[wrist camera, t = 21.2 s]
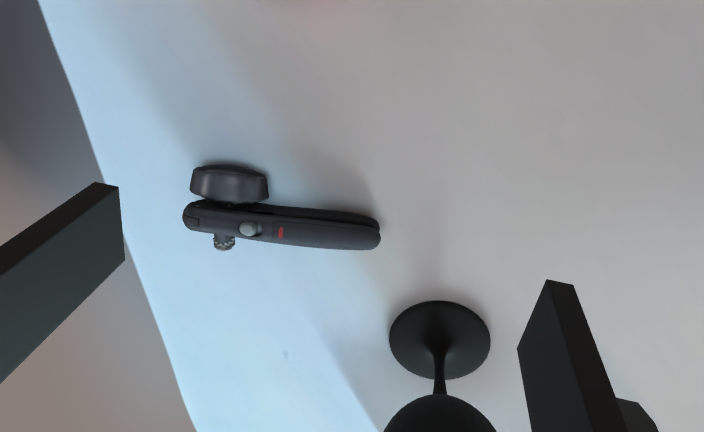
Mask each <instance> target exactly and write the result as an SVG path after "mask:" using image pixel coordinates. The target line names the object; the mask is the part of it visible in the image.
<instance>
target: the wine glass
mask: <svg viewBox="0 0 704 432" xmlns="http://www.w3.org/2000/svg"><path fill="white" fill-rule="evenodd" d="M389 343H390V348H391V351H392V353H393V355H394V357H395V358H396V359H397V361H398V362H399V363H400V364H401V365H402V366H403V367H404V368H406V369H407V370H408V371H410V372H412V373H414V374H416V375H419V376H421V377H425V378H429V379H434V390H433V395H427V396H424V397H421V398H418V399H416V400H414V401H412V402H410V403H408V404H407V405H406V406H404V407H403V408H402V409H400V410H399V411H398V412H397V414H396V415H395V416H394V417H393V418H392V419H391V420H390V422H389V423H388V425H387V427H386V428H385V430H384V432H496V430H495V429H494V427H493V426H492V424H491V423H490V422H489V420H488V419H487V418H486V417H485V416H484V415H483V414H482V413H481V412H480V411H478V410H477V409H476V408H474V407H473V406H472V405H470V404H468V403H467V402H465V401H463V400H461V399H458V398H456V397H453V396H449V395H447V391H446V384H445V380H449V379H455V378H459V377H462V376H465V375H467V374H469V373H471V372H473V371H474V370H476V369H477V368H478V367H479V366H480V365H481V364H482V363H483V362H484V361H485V359H486V358H487V356H488V353H489V350H490V335H489V331H488V329H487V326H486V325H485V323H484V322H483V320H482V319H481V318H480V317H479V316H478V315H477V314H475V313H474V312H473V311H471V310H470V309H468V308H466V307H464V306H461V305H459V304H456V303H452V302H446V301H430V302H424V303H420V304H417V305H414V306H412V307H410V308H408V309H407V310H405V311H404V312H402V313H401V314H400V315H399V316H398V317H397V318H396V320H395V321H394V323H393V325H392V327H391V330H390V336H389Z"/></svg>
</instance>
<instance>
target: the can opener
mask: <svg viewBox="0 0 704 432" xmlns="http://www.w3.org/2000/svg"><path fill="white" fill-rule="evenodd" d="M190 191H191V192H192V193H194V194H196V195H199V196H201V197H204V198H206V199H203V200H197V201H195V202H191V203H190V204H188V205H187V206H186V208H185V209H184V212H183V216H182V218H183V222H184V224H185V226H186V227H187V228H188V229H190V230H193V231H199V232H206V233H213V234H214V238H213V240H214V247H215V248H216V249H217V250H220V251H226V250H230V249H231V248H232V247H233V246H234V245H235V237H239V238H244V239H250V240H257V241H264V242H270V243H278V244H286V245H294V246H304V247H313V248H325V249H342V250H371V249H374V248H375V247H377V246H378V244H379V243H380V240H381V237H380V233H379V230H380V229H379V224H378V222H377V221H376V220H375V219H373V218H371V217H367V216H363V215H358V214H352V213H346V212H339V211H332V210H323V209H311V208H299V207H286V206H276V205H268V204H263V203H259V202H256V201H261V200H265V199H268V198H269V194H268V185H267V179H266V176H265V175H264V174H262V173H259V172H257V171H254V170H251V169H247V168H243V167H239V166H232V165H208V166H201V167H197V168H195V169H194V170H193V174H192V178H191V183H190Z"/></svg>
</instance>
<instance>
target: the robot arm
mask: <svg viewBox="0 0 704 432" xmlns="http://www.w3.org/2000/svg"><path fill="white" fill-rule="evenodd" d="M124 261H125V253H124V243H123V232H122V221H121V210H120V199H119V188H118V187H117V186H112V185H107V184H103V183H98V182H94V183H92V184H91V185H90V186H88V187H87V188H85V189H84V190H82V191H81V192H79V193H78V194H76V195H75V196H73V197H72V198H70V199H69V200H67V201H66V202H65V203H63V204H62V205H60V206H59V207H57V208H56V209H54V210H53V211H51V212H50V213H49V214H47V215H46V216H44V217H43V218H41V219H40V220H38V221H37V222H35V223H34V224H32V225H31V226H29V227H28V228H26V229H25V230H24V231H22V232H21V233H19V234H18V235H16V236H15V237H13V238H12V239H10V240H9V241H8V242H6V243H5V244H3V245H2V246H0V384H1V383H2V382H3V381H4V380H5V379H6V377H7V376H9V375H10V374H11V373H12V372H13V371H14V370H15V369H16V368H17V367H18V366H19V365H20V364H21V363H22V362H23V361H24V360H25V359H26V358H27V357H28V356H29V355H30V354H31V353H32V352H33V351H34V350H35V349H36V348H37V347H38V346H39V345H40V344H41V343H42V342H43V341H44V340H45V339H46V338H47V337H48V336H49V335H50V334H51V333H52V332H53V331H54V330H55V329H56V328H57V327H58V326H59V325H60V324H61V323H62V322H63V321H64V320H65V319H66V318H67V317H68V316H69V315H70V314H71V313H72V312H73V311H74V310H75V309H76V308H77V307H78V306H79V305H80V304H81V303H82V302H83V301H84V300H85V299H86V298H87V297H88V296H89V295H90V294H91V293H92V292H93V291H94V290H95V289H96V288H97V287H98V286H99V285H100V284H101V283H102V282H103V281H104V280H105V279H106V278H107V277H108V276H109V275H110V274H111V273H112V272H113V271H114V270H115V269H116V268H117V267H118V266H119V265H120V264H121V263H122V262H124ZM517 351H518V357H519V363H520V368H521V374H522V379H523V385H524V390H525V396H526V401H527V407H528V413H529V418H530V424H531V429H532V432H659V431H658V429H657V427H656V425H655V423H654V421H653V420H652V419H651V418H650V417H649V415H648V414H647V413H646V412H645V411H644V409H643V408H642V407H641V406H640V405H639V403H637V402H633V401H628V400H624V399H620V398H616V397H615V394H614V392H613V389H612V386H611V384H610V381H609V378H608V376H607V373H606V371H605V368H604V365H603V363H602V360H601V357H600V355H599V352H598V349H597V347H596V344H595V341H594V339H593V336H592V333H591V331H590V328H589V326H588V323H587V320H586V318H585V315H584V312H583V310H582V307H581V304H580V302H579V299H578V296H577V294H576V291H575V288H574V286H573V285H571V284H567V283H562V282H557V281H553V280H548V279H546V282H545V284H544V286H543V289H542V291H541V293H540V296H539V298H538V300H537V303H536V305H535V307H534V310H533V312H532V314H531V317H530V319H529V321H528V324H527V326H526V328H525V331H524V333H523V335H522V338H521V340H520V342H519V345H518V347H517Z"/></svg>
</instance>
